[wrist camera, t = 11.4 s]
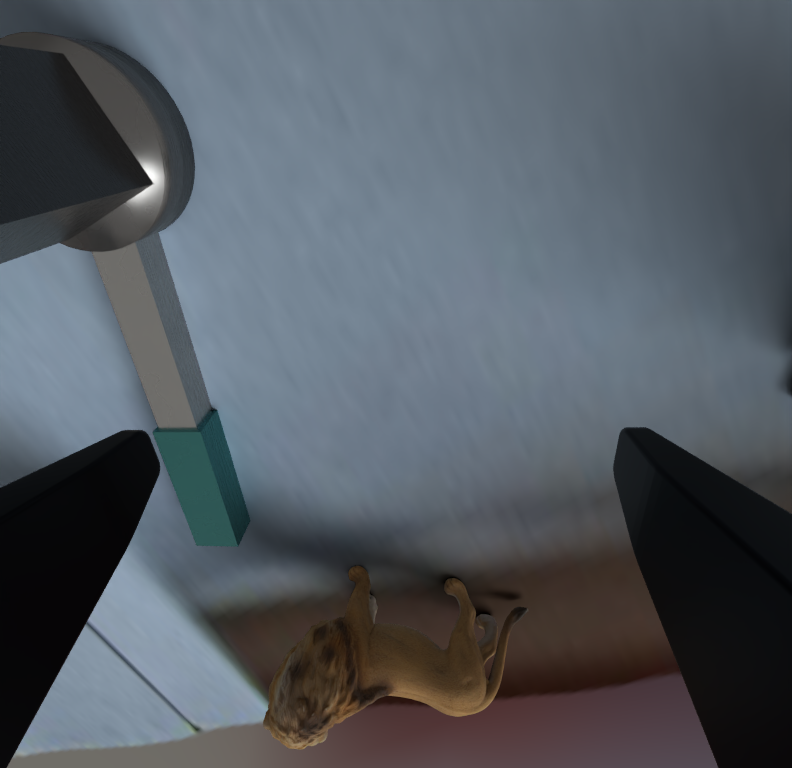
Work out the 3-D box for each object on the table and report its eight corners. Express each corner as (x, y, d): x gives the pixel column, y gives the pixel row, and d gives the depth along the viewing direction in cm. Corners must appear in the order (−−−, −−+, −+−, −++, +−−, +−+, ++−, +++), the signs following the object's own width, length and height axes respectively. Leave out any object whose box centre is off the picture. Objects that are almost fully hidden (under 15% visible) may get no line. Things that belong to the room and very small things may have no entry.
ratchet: (163, 31, 17) (69, 7, 13) (286, 521, 29) (258, 593, 25) (-13, 50, 18) (-158, 32, 14) (176, 519, 30) (131, 589, 25)
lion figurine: (306, 611, 33) (263, 765, 26) (295, 559, 31) (244, 713, 23) (522, 625, 32) (547, 792, 24) (531, 571, 29) (561, 739, 22)
